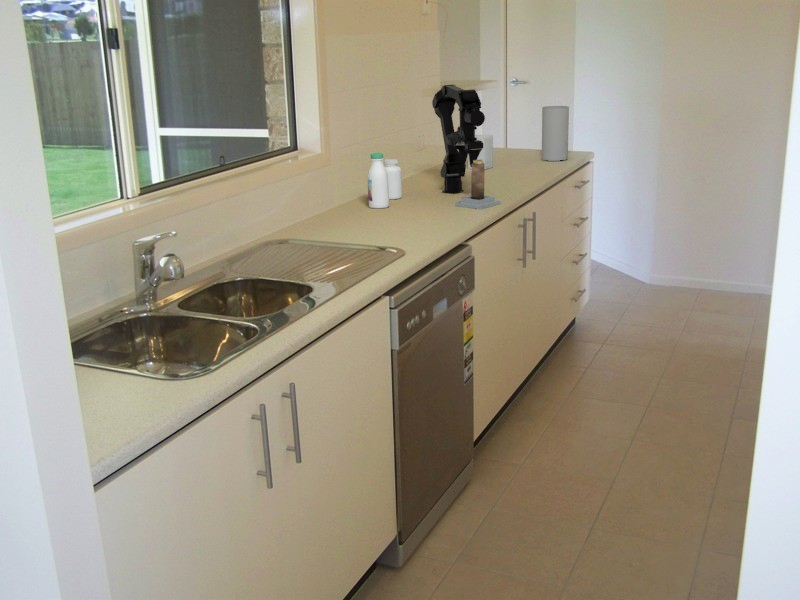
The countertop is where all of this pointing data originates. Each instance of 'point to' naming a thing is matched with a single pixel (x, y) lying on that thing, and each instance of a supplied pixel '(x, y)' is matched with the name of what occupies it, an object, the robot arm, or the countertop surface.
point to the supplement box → (485, 151)
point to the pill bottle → (394, 178)
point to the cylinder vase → (555, 133)
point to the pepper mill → (477, 180)
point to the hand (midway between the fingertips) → (467, 165)
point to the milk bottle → (378, 183)
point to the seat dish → (477, 202)
